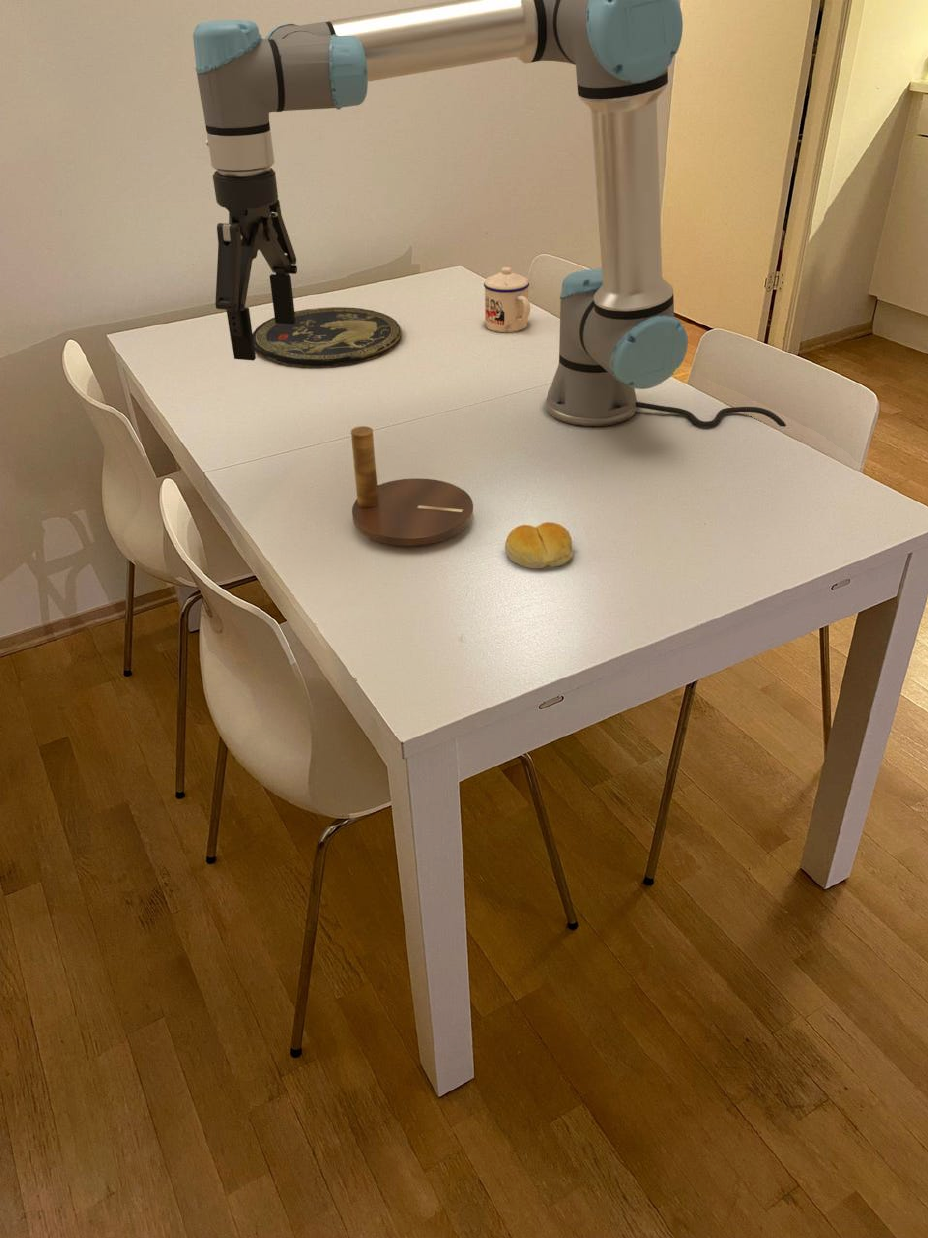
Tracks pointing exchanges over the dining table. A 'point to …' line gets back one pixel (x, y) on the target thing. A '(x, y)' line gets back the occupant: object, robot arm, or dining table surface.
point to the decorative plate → (328, 337)
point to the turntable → (404, 502)
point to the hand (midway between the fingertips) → (266, 340)
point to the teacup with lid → (506, 301)
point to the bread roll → (539, 545)
